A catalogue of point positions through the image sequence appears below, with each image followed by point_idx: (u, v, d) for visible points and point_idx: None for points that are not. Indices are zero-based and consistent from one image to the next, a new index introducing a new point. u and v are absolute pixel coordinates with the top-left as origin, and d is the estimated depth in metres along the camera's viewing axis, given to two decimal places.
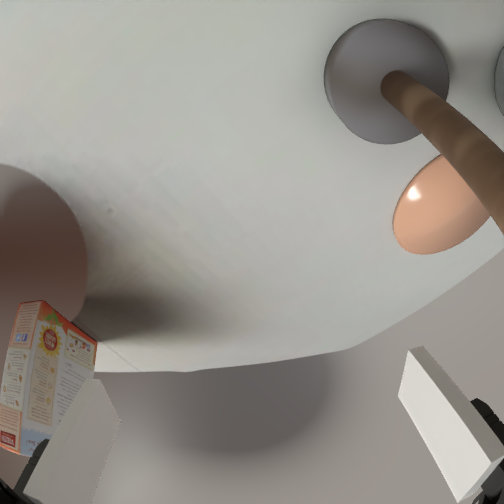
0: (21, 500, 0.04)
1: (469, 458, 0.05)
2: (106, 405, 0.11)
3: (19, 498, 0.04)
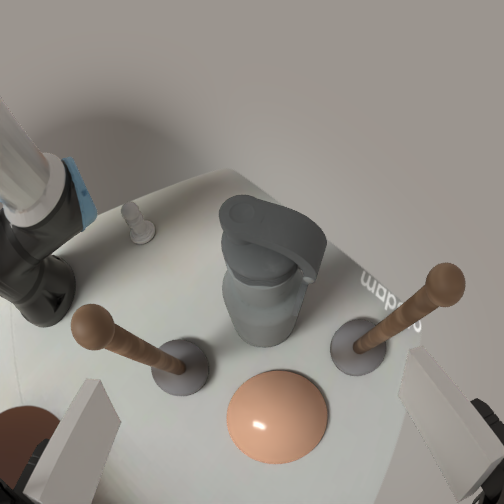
0: (21, 500, 0.04)
1: (469, 458, 0.05)
2: (106, 405, 0.11)
3: (19, 498, 0.04)
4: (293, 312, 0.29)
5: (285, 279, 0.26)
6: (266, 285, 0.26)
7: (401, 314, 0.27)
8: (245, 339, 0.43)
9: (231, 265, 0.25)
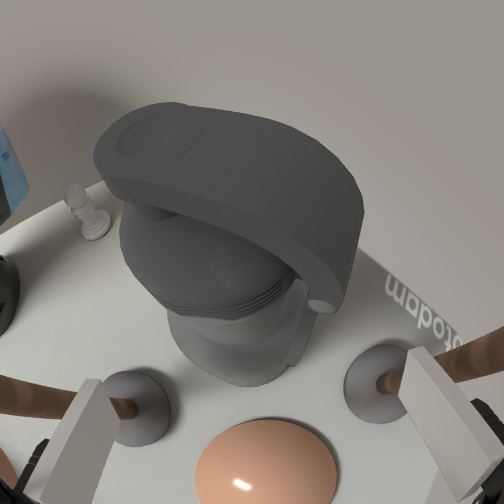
0: (21, 500, 0.04)
1: (469, 458, 0.05)
2: (106, 405, 0.11)
3: (19, 498, 0.04)
4: (286, 362, 0.14)
5: (265, 304, 0.11)
6: (220, 317, 0.11)
7: (483, 359, 0.11)
8: None
9: (131, 270, 0.10)
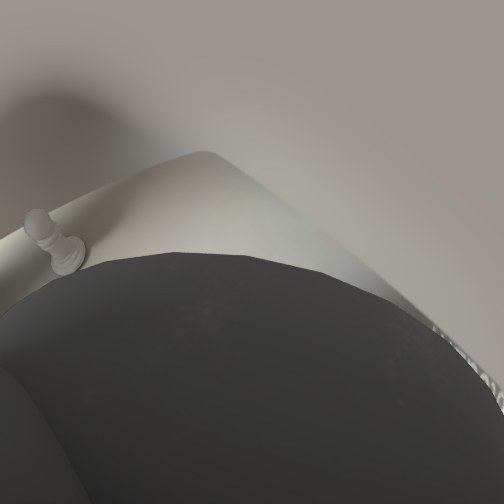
0: None
1: None
2: None
3: None
4: None
5: None
6: None
7: None
8: None
9: None
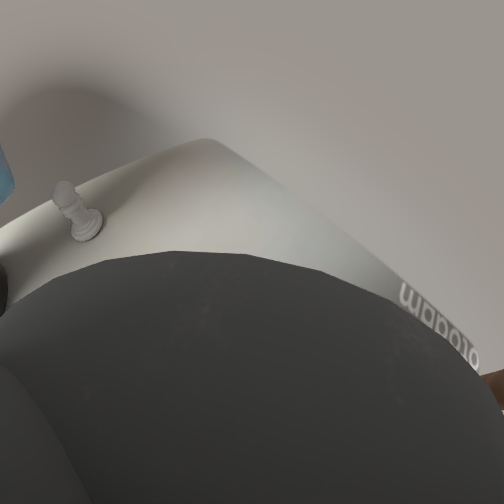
0: None
1: None
2: None
3: None
4: None
5: None
6: None
7: None
8: None
9: None
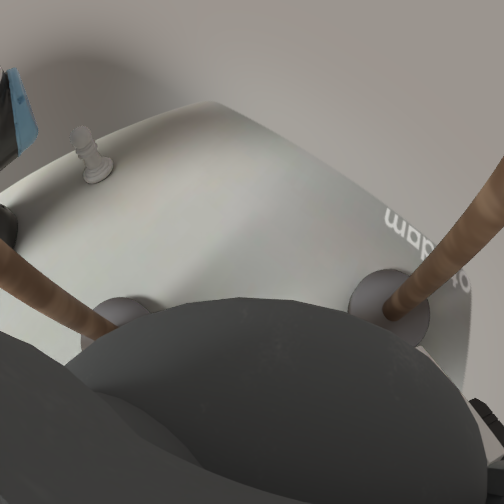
0: None
1: None
2: None
3: None
4: None
5: None
6: None
7: (491, 196, 0.11)
8: None
9: None
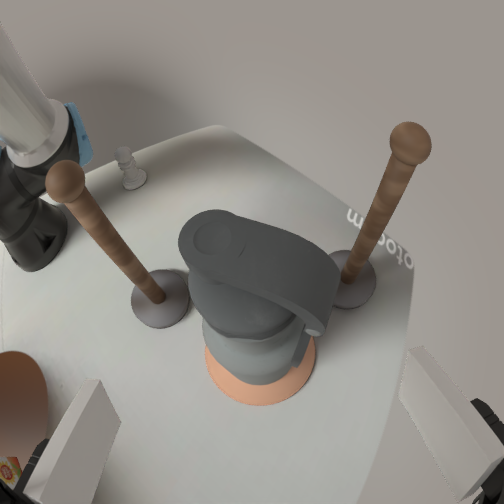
0: (21, 500, 0.04)
1: (469, 458, 0.05)
2: (106, 405, 0.11)
3: (19, 498, 0.04)
4: (292, 364, 0.21)
5: (280, 330, 0.18)
6: (253, 338, 0.18)
7: (377, 198, 0.27)
8: (236, 377, 0.35)
9: (201, 313, 0.17)
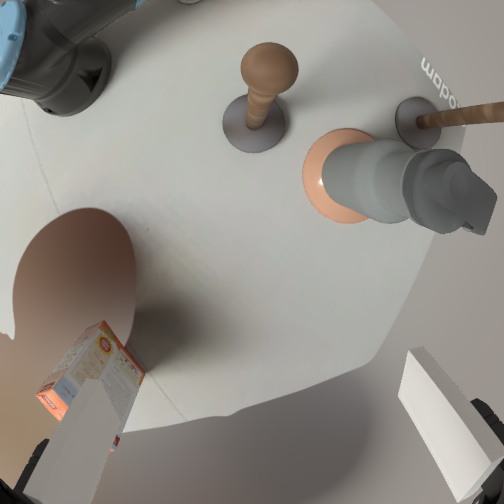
0: (21, 500, 0.04)
1: (469, 458, 0.05)
2: (106, 405, 0.11)
3: (19, 498, 0.04)
4: None
5: None
6: None
7: (490, 111, 0.23)
8: (338, 202, 0.42)
9: (422, 218, 0.21)
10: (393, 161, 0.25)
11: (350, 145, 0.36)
